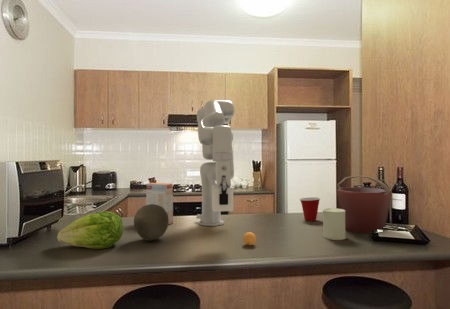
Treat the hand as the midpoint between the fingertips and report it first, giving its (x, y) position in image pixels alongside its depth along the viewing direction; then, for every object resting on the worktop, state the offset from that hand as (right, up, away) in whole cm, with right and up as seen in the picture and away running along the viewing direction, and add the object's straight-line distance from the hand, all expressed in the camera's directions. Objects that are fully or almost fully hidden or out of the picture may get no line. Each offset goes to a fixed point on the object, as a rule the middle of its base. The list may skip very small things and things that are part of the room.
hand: (222, 202), depth 118 cm
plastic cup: (+47, -17, +45) cm, 67 cm away
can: (+47, -17, +12) cm, 52 cm away
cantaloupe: (-30, -17, +8) cm, 35 cm away
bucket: (+66, -17, +24) cm, 72 cm away
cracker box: (-33, -17, +41) cm, 56 cm away
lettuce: (-52, -18, +1) cm, 55 cm away
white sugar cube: (0, -3, 0) cm, 3 cm away
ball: (+10, -14, +1) cm, 18 cm away
